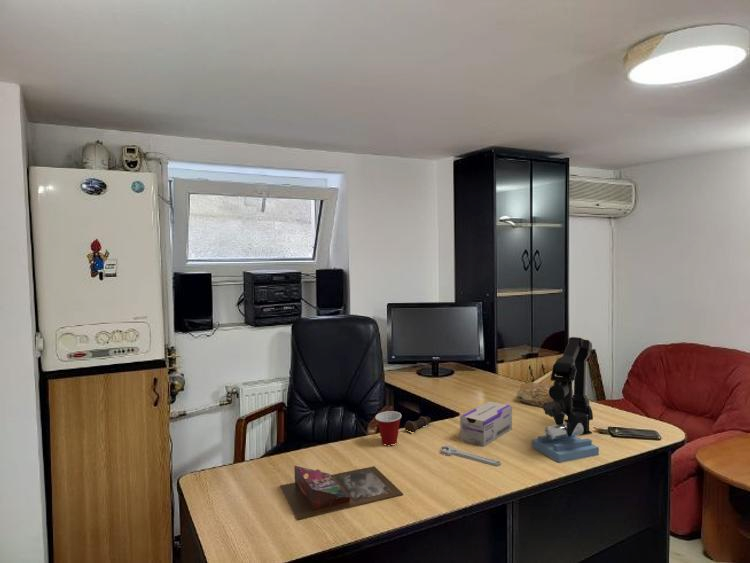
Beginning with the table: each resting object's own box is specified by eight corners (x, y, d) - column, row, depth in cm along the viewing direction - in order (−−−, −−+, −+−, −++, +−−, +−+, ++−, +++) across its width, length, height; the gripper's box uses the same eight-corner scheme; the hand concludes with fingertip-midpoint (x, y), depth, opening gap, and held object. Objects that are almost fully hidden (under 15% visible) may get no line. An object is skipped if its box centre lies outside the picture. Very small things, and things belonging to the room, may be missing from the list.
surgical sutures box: (489, 424, 225) (489, 401, 224) (512, 429, 218) (511, 405, 217) (460, 441, 206) (460, 415, 205) (483, 447, 199) (483, 421, 198)
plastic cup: (370, 444, 204) (369, 415, 204) (387, 437, 212) (387, 409, 212) (390, 451, 197) (389, 421, 196) (407, 443, 205) (407, 414, 204)
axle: (574, 431, 197) (574, 419, 197) (583, 436, 193) (583, 423, 192) (544, 436, 193) (545, 424, 192) (553, 441, 188) (553, 428, 188)
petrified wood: (564, 404, 249) (562, 386, 247) (549, 415, 242) (547, 396, 240) (531, 395, 265) (529, 377, 263) (516, 405, 257) (513, 387, 255)
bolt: (429, 428, 227) (410, 436, 216) (421, 420, 230) (402, 428, 219) (435, 418, 226) (416, 426, 214) (427, 411, 228) (408, 418, 217)
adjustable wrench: (502, 466, 182) (502, 461, 182) (493, 471, 178) (493, 467, 178) (445, 448, 199) (445, 444, 199) (436, 453, 195) (436, 448, 195)
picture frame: (279, 488, 170) (278, 464, 169) (374, 468, 183) (374, 446, 183) (297, 523, 147) (296, 495, 147) (403, 498, 161) (403, 473, 160)
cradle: (569, 440, 203) (569, 428, 203) (598, 455, 188) (598, 442, 188) (532, 447, 198) (531, 434, 197) (559, 462, 182) (559, 449, 182)
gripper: (531, 390, 198) (531, 429, 199) (563, 403, 180) (563, 445, 181) (554, 387, 202) (555, 425, 202) (588, 399, 184) (588, 441, 185)
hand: (564, 433), depth 193 cm, fingers closed on axle, 5 cm apart
